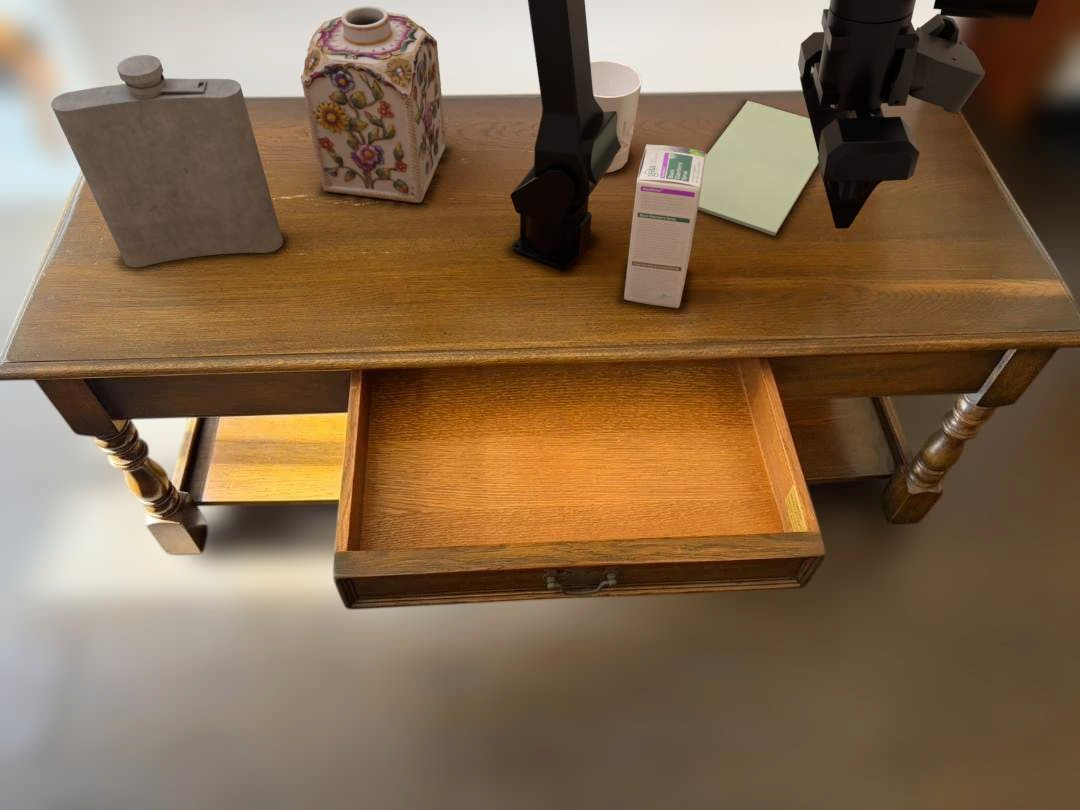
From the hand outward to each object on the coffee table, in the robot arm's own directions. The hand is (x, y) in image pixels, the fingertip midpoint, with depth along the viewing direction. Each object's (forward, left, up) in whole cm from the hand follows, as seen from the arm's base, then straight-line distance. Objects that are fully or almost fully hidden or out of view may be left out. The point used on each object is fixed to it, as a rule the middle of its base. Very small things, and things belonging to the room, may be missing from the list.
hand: (834, 195), depth 71 cm
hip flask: (-57, -21, -15) cm, 62 cm away
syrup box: (-14, -3, -15) cm, 20 cm away
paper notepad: (-12, +23, -15) cm, 30 cm away
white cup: (-29, +15, -15) cm, 35 cm away
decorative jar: (-49, 0, -15) cm, 51 cm away
